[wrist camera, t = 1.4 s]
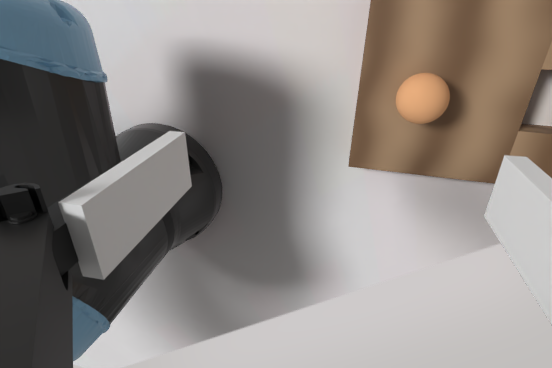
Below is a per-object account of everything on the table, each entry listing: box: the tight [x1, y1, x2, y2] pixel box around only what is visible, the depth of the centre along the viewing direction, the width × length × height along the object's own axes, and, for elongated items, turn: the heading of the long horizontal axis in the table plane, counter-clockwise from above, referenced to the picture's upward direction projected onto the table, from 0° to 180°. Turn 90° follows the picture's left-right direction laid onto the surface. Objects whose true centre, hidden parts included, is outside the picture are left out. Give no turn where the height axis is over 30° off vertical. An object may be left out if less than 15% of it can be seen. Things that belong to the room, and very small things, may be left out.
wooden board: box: [349, 0, 552, 183], centre depth 28 cm, size 22×15×5 cm
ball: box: [396, 73, 450, 124], centre depth 27 cm, size 4×4×4 cm
